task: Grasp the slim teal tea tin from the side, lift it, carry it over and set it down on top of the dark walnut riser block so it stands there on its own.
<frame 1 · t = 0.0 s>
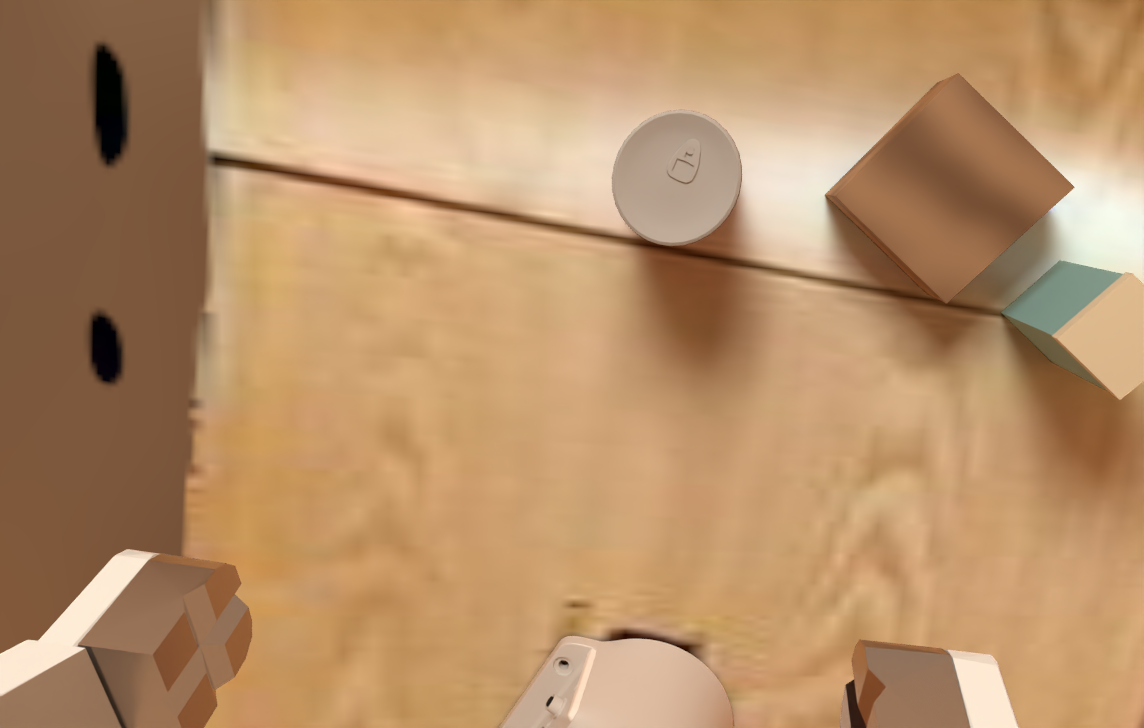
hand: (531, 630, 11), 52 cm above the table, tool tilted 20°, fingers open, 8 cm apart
canned food: (681, 179, 60), on the table
riser block: (931, 191, 57), on the table
tea tin: (1055, 311, 58), on the table
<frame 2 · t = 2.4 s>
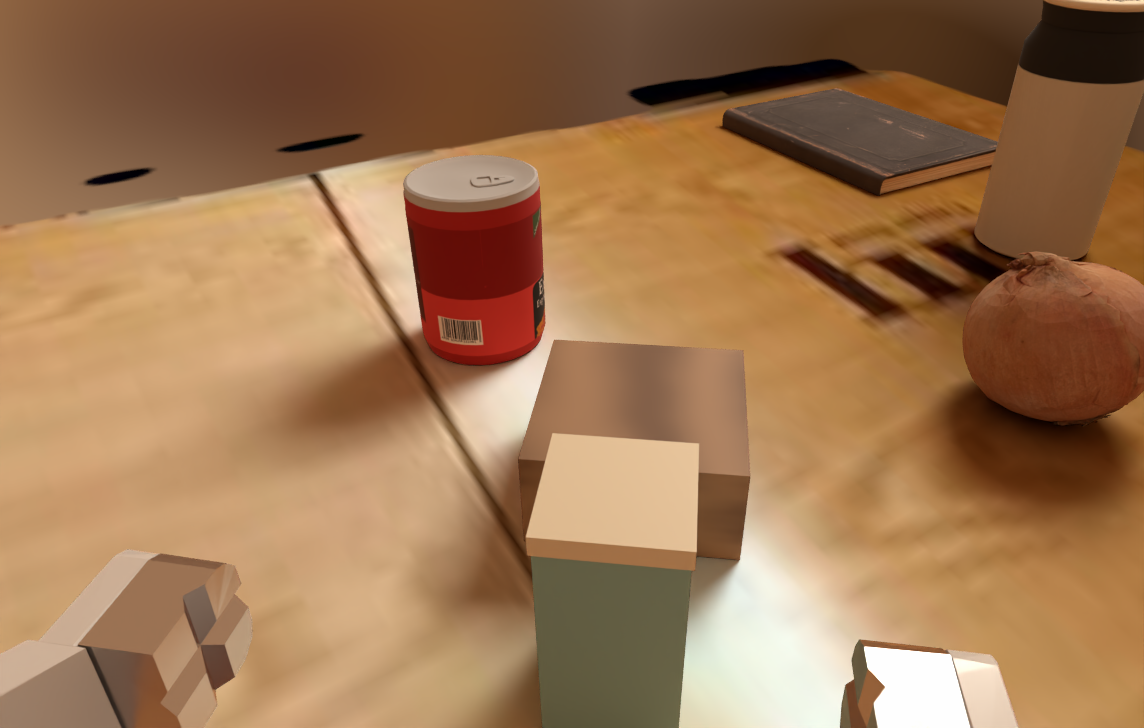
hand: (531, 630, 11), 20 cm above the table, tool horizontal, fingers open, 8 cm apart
travel mug: (1028, 245, 65), on the table
canned food: (485, 339, 55), on the table
hardcover book: (852, 150, 86), on the table
riser block: (638, 479, 43), on the table
tea tin: (615, 680, 33), on the table
onion: (1036, 407, 48), on the table
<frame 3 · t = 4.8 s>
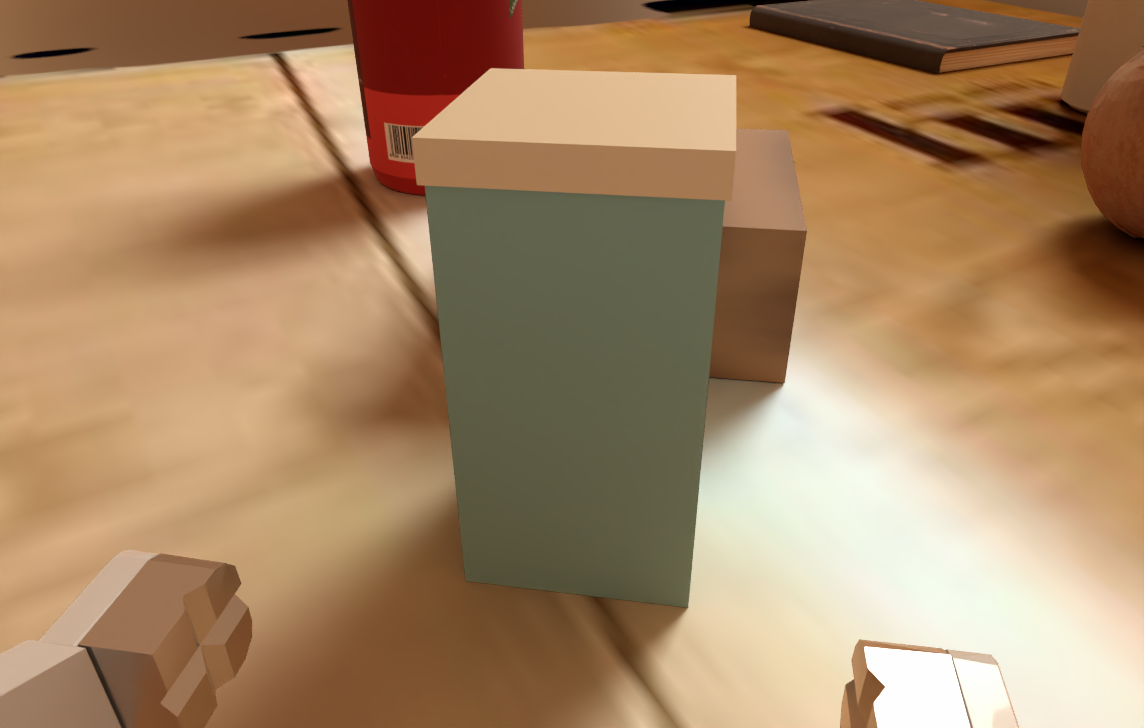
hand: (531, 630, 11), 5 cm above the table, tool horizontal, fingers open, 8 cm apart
travel mug: (1128, 112, 53), on the table
canned food: (450, 176, 43), on the table
hardcover book: (900, 47, 74), on the table
riser block: (638, 299, 31), on the table
tea tin: (590, 518, 21), on the table
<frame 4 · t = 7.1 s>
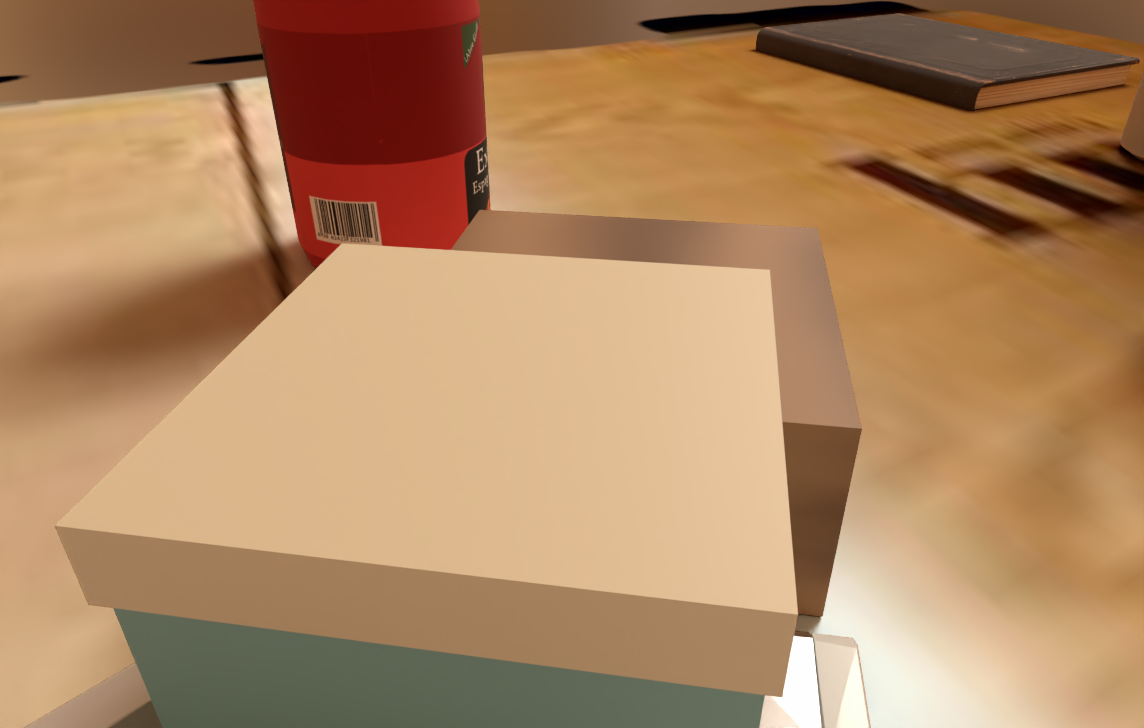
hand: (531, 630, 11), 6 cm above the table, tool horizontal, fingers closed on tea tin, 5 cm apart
canned food: (399, 252, 36), on the table
hardcover book: (924, 75, 66), on the table
riser block: (620, 455, 23), on the table
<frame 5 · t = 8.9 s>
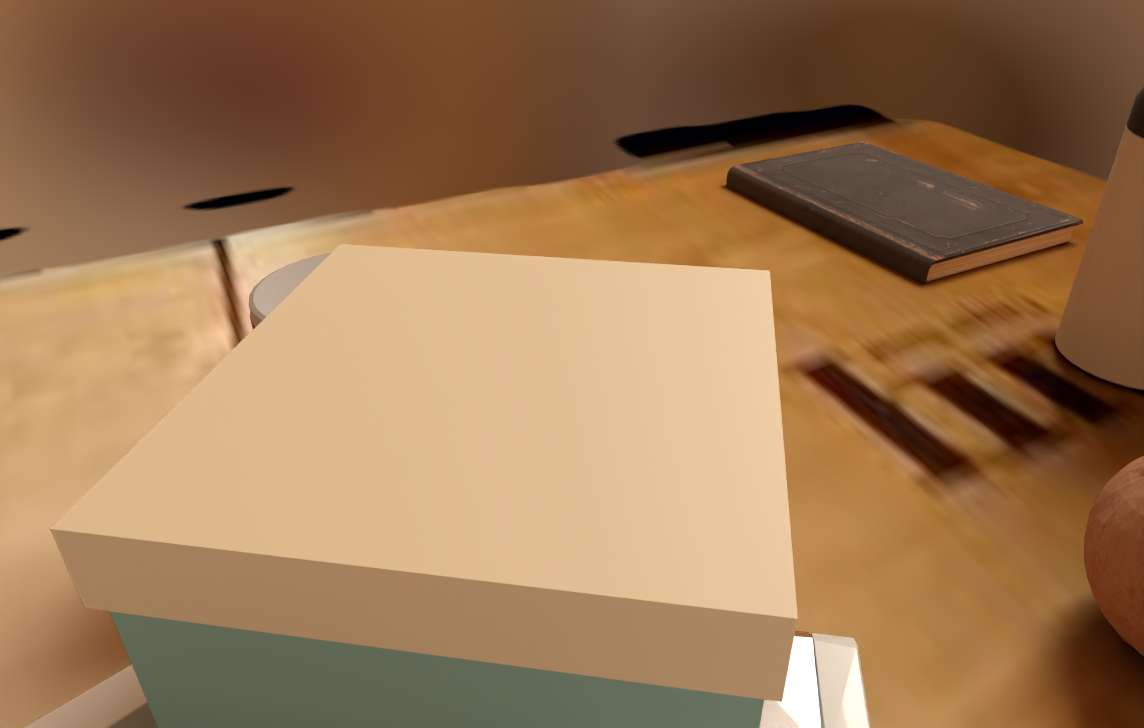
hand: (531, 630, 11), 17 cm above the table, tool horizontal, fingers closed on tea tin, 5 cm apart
travel mug: (1128, 363, 49), on the table
canned food: (386, 501, 39), on the table
hardcover book: (884, 219, 70), on the table
when the fingers open (12 cm above the table, at t = 11.0 s): tea tin drops 1 cm, resting on riser block.
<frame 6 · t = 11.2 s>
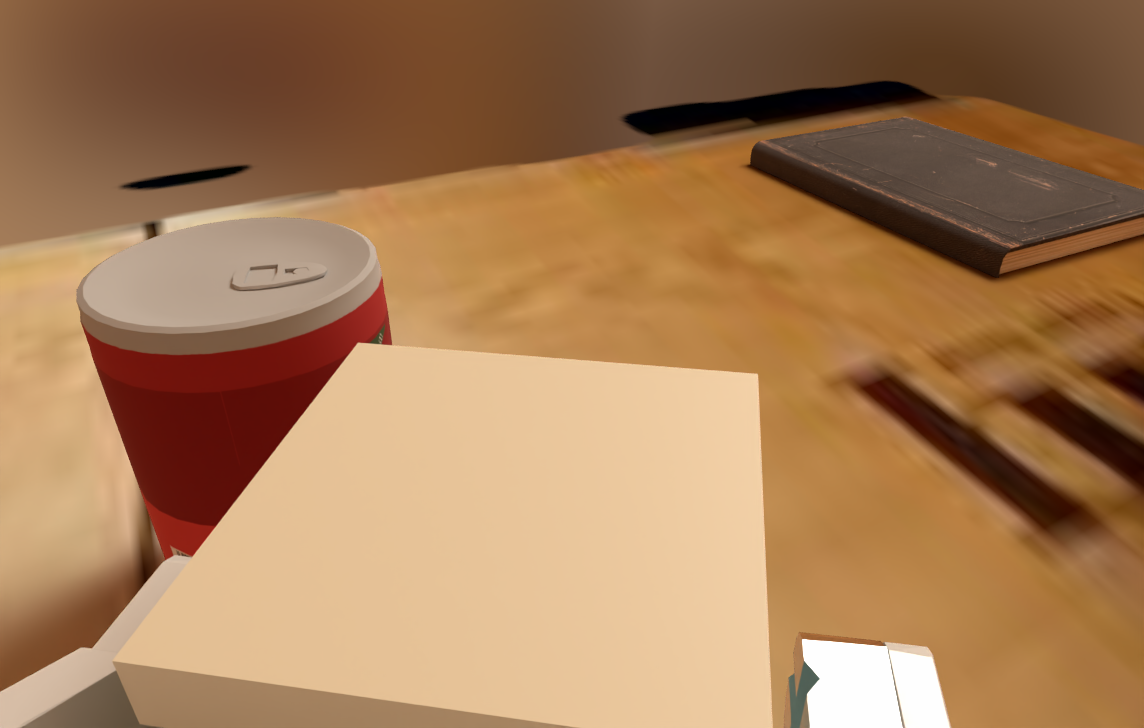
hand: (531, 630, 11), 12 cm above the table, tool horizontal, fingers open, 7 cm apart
canned food: (303, 561, 29), on the table
hardcover book: (937, 203, 60), on the table
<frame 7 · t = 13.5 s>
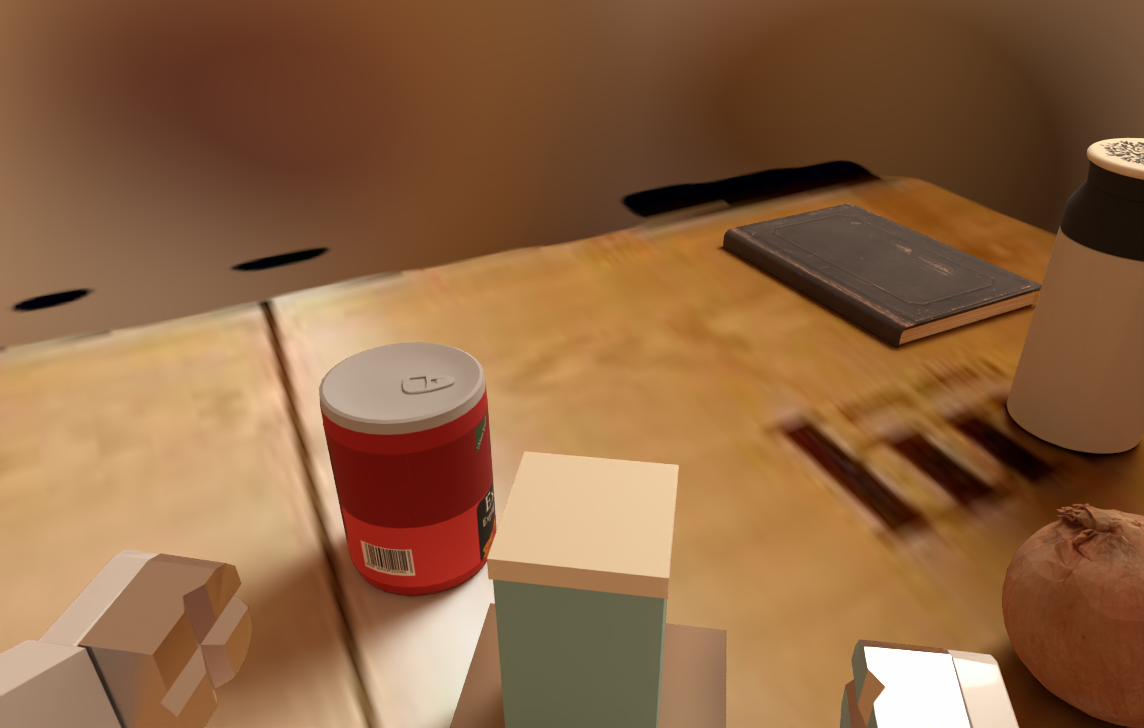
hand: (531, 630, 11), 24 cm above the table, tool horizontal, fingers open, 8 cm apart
travel mug: (1070, 424, 56), on the table
canned food: (425, 551, 46), on the table
hardcover book: (866, 280, 77), on the table
tea tin: (589, 719, 31), point 5 cm above the table, touching riser block
onion: (1095, 686, 38), on the table
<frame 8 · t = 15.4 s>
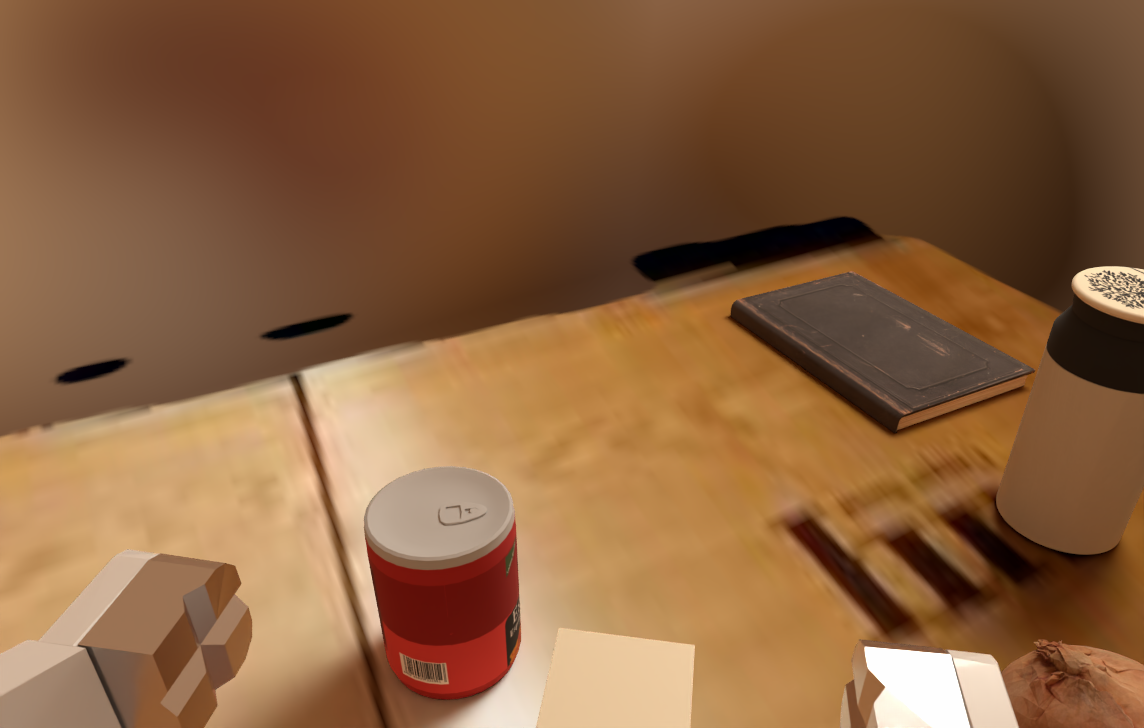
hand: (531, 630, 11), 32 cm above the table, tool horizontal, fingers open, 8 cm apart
travel mug: (1054, 520, 60), on the table
canned food: (455, 651, 50), on the table
hardcover book: (867, 355, 81), on the table
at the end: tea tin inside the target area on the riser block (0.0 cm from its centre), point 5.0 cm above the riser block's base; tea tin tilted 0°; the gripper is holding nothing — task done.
